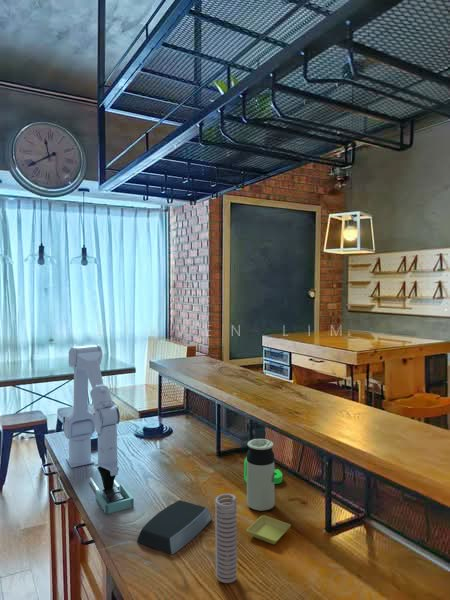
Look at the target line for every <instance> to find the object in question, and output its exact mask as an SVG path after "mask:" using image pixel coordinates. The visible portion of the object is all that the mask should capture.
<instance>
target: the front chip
mask: <svg viewBox="0 0 450 600" xmlns="http://www.w3.org/2000/svg"><path fill="white" fill-rule="evenodd" d="M121 500H124V497H123V495H122V494H121V493H115V494H111V495H108V496H106V500H105V501H106V502H107V504H109V503H113V502H117V501H121Z"/></svg>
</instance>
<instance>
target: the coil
mask: <svg viewBox="0 0 450 600" xmlns="http://www.w3.org/2000/svg"><path fill="white" fill-rule="evenodd" d="M237 505H238V504H237V496H236V495H235V494H233V493H232V494H231V493H222V494H219V495H217V496H216V497H215V500H214V507H215V509H214V510H215V511H214V512H215V514H214V515H215V516H214V517H215V519H214V520H215V524H214V525H215V531H214V532H215V541H214V542H215V577H216V579H217V580H218V581H219V582H222V583H223V584H224V583H225V584H230V583H233V582H235V581H236V580H237V578H238V576H237V573H238V570H237V568H238V565H237V564H238V561H237V559H238V555H237V554H238V552H237V550H238V548H237V546H238V544H237V543H238V542H237V540H238V539H237V536H238V535H237V530H238V529H237V527H238V526H237V523H238V521H237V518H238V517H237V513H238V512H237V508H238V507H237Z"/></svg>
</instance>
